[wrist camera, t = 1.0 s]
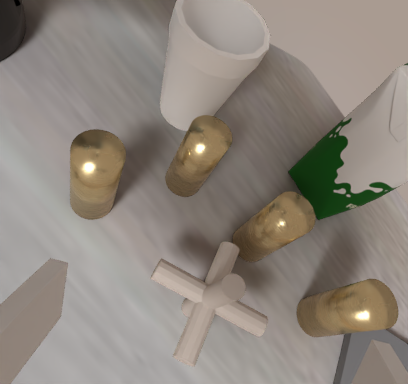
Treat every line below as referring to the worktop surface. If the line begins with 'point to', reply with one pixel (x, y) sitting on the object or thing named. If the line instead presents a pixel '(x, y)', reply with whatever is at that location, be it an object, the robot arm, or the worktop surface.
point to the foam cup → (209, 56)
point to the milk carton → (360, 152)
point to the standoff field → (244, 236)
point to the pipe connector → (209, 301)
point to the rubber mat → (357, 348)
